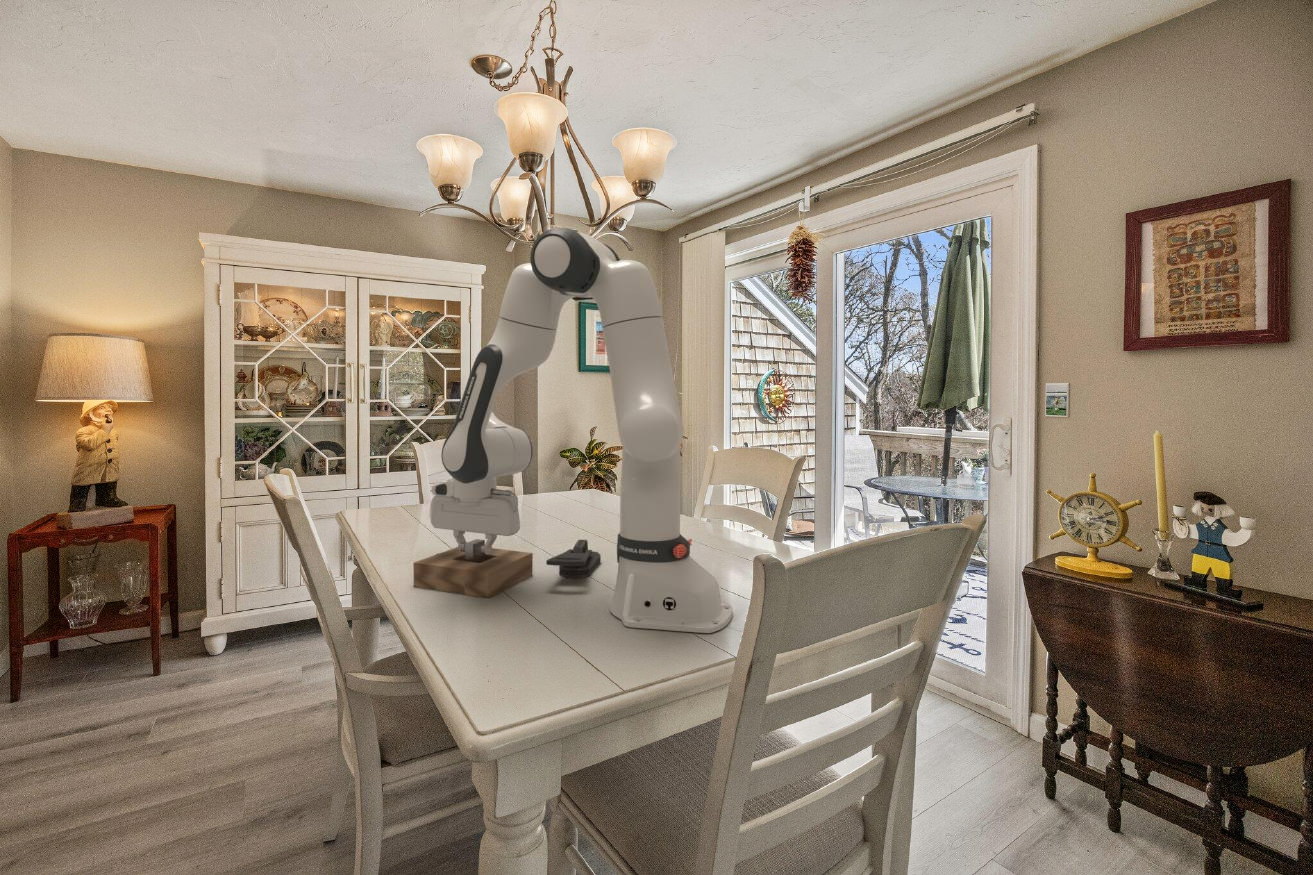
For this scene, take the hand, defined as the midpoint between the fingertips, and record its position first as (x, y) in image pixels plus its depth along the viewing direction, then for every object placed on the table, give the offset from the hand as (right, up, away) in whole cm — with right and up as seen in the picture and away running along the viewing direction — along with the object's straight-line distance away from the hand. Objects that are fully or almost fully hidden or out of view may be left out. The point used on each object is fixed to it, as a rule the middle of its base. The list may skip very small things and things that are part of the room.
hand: (475, 552), depth 128 cm
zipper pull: (+20, -6, +6) cm, 22 cm away
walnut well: (0, -6, 0) cm, 6 cm away
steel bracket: (0, -6, 0) cm, 6 cm away
